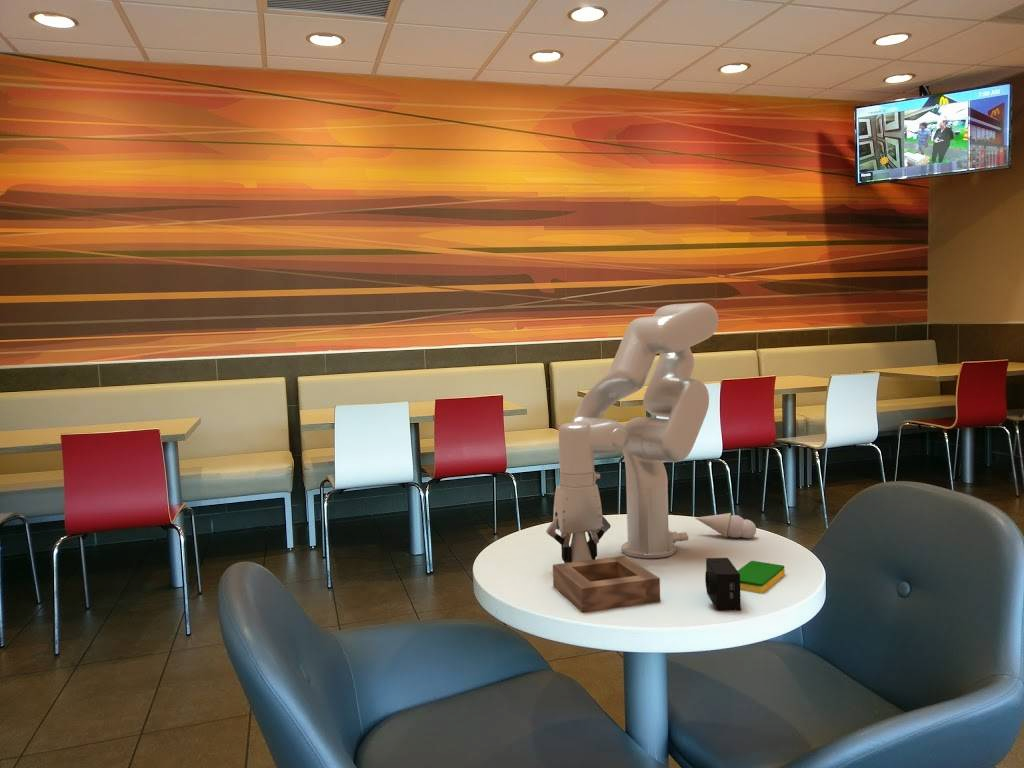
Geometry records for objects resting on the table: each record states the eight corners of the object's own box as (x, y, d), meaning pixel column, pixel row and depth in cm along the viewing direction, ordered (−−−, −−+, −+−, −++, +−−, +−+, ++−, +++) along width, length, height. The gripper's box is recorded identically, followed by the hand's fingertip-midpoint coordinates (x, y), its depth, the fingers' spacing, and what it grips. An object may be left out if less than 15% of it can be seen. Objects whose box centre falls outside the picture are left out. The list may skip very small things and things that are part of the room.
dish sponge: (726, 589, 152) (726, 577, 152) (751, 571, 163) (751, 560, 163) (762, 596, 148) (762, 583, 148) (785, 576, 159) (785, 565, 159)
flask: (556, 570, 167) (555, 525, 166) (578, 563, 172) (577, 519, 171) (581, 577, 162) (579, 531, 161) (603, 569, 167) (602, 524, 166)
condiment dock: (624, 576, 161) (624, 555, 161) (660, 601, 146) (659, 578, 146) (553, 586, 157) (552, 564, 156) (582, 612, 141) (581, 588, 141)
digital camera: (700, 592, 150) (699, 557, 150) (728, 592, 150) (727, 557, 150) (710, 611, 140) (709, 573, 140) (740, 611, 140) (740, 573, 139)
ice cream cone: (692, 533, 193) (753, 547, 188) (691, 523, 188) (754, 537, 183) (696, 512, 196) (757, 525, 191) (696, 501, 191) (758, 514, 186)
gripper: (606, 473, 172) (608, 553, 173) (534, 480, 167) (537, 562, 168) (620, 479, 164) (622, 562, 166) (545, 486, 160) (548, 571, 161)
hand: (579, 561), depth 167 cm, fingers closed on flask, 5 cm apart
